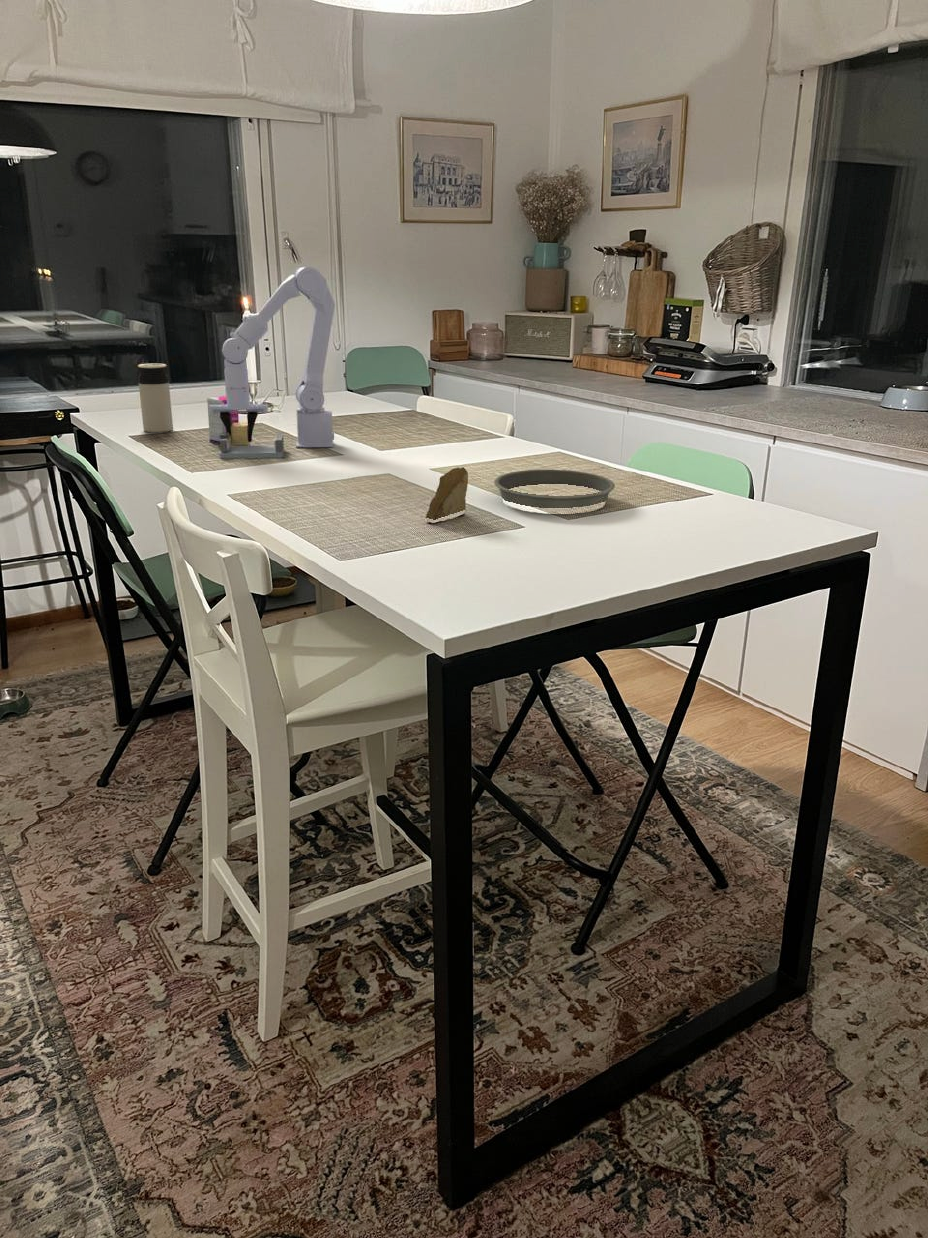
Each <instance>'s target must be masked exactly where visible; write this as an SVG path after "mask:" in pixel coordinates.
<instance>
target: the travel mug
mask: <svg viewBox="0 0 928 1238" xmlns="http://www.w3.org/2000/svg"><path fill="white" fill-rule="evenodd" d="M137 367H138V368H139V369H138V370H139V374H138V377H137V380H138V390H139V399H140V408H141V416H142V417H141V418H142V427H143V431H145V432H146V431H147V433H151V432H161V433H168V432H167V431H169V432H171V431H172V430H173V429H174V425H173V414H172V411H173V410H172V402H171V392H170V391H171V390H170V382H169V375H168V374H167V372H166V368H167V364H165V363H140V364H138V365H137Z"/></svg>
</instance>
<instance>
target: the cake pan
mask: <svg viewBox="0 0 928 1238" xmlns="http://www.w3.org/2000/svg"><path fill="white" fill-rule="evenodd" d="M493 483H494V485H495V487H496V488H498V489H499V492H500V496H501V497H502V498H503V499H504V500H505V501H508V502H513V503H516V504H520V505H525V506H531V507H539V508H573V507H583V506H590V505H594V504H598V503H601V502H605V501H606V500H607V501H608V497H609V494H610V492H612V491H613V490H614V489H615V487H616V485H615V483H614V482H613V481H612V480H611V479H609V478H608V477H605V476H602V475H600V474H594V473H590V472H584V471H577V470H567V469H527V470H517V471H513V472H512V471H511V472H508V473H503V474H502V475H499V476H498V477H496V478H495V479H494V481H493ZM538 484H568V485H576V486H584V487H588V488H593V489H596V490H599V491H601V492H598V493H593V494H586V495H574V496H549V495H536V494H528V493H521V492H517V491H513V490H509V489H511V488H514V487H519V486H526V485H538ZM502 498H501V499H502ZM607 501H606V502H607Z"/></svg>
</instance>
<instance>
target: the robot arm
mask: <svg viewBox="0 0 928 1238" xmlns="http://www.w3.org/2000/svg"><path fill="white" fill-rule="evenodd" d="M301 294H302V295H304V296H305V297H306V298H307V300H308V301H309V302H310V304H311V305H312V307H313V308H314V312H313V316H312V317H313V318H312V324H311V330H310V335H309V341H308V348H307V354H306V361H305V365H304V366H305V367H304V371H303V374H302V377H301V382H300V384H299V385H298V387H297V388H296V391H295V399H296V400H297V402H298V403H299V405H298V407H297V408H296V427H297V429H296V430H297V440H296V443H295V448H333V447H334V440H335V432H333V429H334V428H333V411H332V410H325V408H324V407H323V406H324V404H325V396H324V392H323V387H324V371H325V365H326V358H327V353H328V347H329V341H330V337H331V331H332V330H331V329H332V325H333V319H334V318H333V317H334V313H335V306H336V305H335V301H334V298H333V295H332V293H331V291H330V289H329V286H328V283H327V279H326V278H325V277H324V276H323V275H322V273H321V272H320V271H319V270H318V268H315V267H313V266H300V267H298V268H297V269H296V270H295V271H294V273H293V274H291V275H289V276H288V277H287V278H286V279H285V280H284V281H283V282H282V283H281V284H280V285H279V286H278V288H276V290H275V291H274V292H273V294H272V295H271V296H270V298H269V299H268V300H267V301H266V303H264V305H263V306H262V308H261V309H260V310H259V311H258V313H249V314H248V315H244V316H243V317H242V322H241V324H239V326H238V327H237V328H236V330H235V331H234V332H233V331H231V332H230V334H229V336H230V337H231V338H228V339H226V340H225V341H224V342H223V345H222V349H221V353H222V355H223V357H224V361H223V362H224V363H223V365H224V369H223V370H224V383H225V385H224V386H225V396H226V399H227V404H223V405H209V414H214V413H220V418H221V420H222V422H223V424H224V426H225V428H226V430H227V433H229V434H230V435H231V425H232V418H231V413H238V414H246V420H247V423H248V441H249V442H250V443H252V441H253V432H254V428H255V423H256V420H257V418H258V415H259V414H268V413H269V406H268V404H257V403H256V404H253V403H251V402H250V401H251V400H250V399H251V398H250V386H249V376H248V375H249V371H248V368H247V360H246V359H247V358H248V355H249V352H248V351H249V350H253V349H254V347H255V346H256V345H257V344H258V343H259V341H260V340H261V339H262V338H263V337H264V336H265V334H266V333H267V332H268V331H269V327H268V323H269V322H270V321H271V319H272V318H273V317H274V316H275V315H276V314H277V313H278V312H279V311H280V309H282V307H283V306H284V305H285V304H286V303H287V302H288V301H289V300H291V299H294V298H297V297H300V296H302V295H301ZM231 410H238V411H231ZM231 443H232V437H231Z"/></svg>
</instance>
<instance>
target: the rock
mask: <svg viewBox="0 0 928 1238" xmlns="http://www.w3.org/2000/svg"><path fill="white" fill-rule="evenodd" d="M468 484H469V472H468V471H467V470H466V468H465V467H464V466H463V467H454V468H452V469H450V470H449V471H447V472H445V474H443V475H441V476H440V477H439V483H438V486H437V489H436V491H435V495H434V497H432V499H431V501H430V503H429V505H428V506H429V508H428V511H427V512H426V514H425V518H429V519H433V520H436V519H438V518H441V517H445V516H448V515H450V514H454V513H457V512H460V511H463V510H465V511H466V508H467V507H466V506H467V505H466V496H467V491H468Z"/></svg>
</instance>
